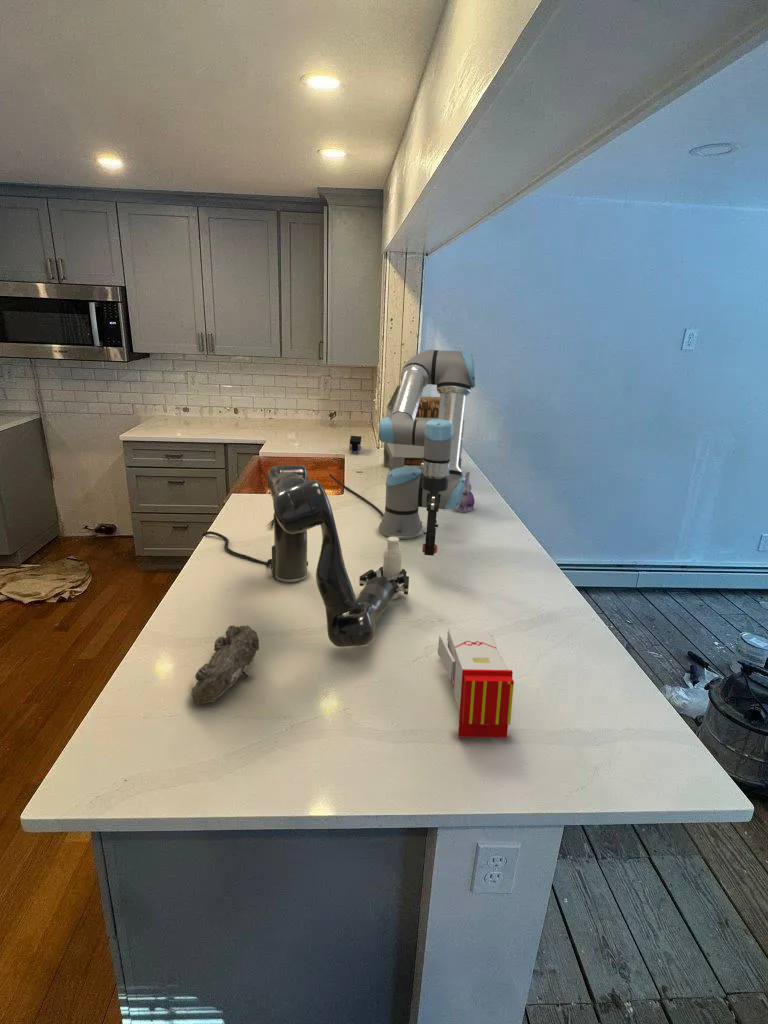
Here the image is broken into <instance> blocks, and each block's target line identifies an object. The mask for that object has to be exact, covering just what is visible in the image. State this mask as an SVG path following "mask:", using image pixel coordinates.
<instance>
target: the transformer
mask: <svg viewBox="0 0 768 1024" xmlns="http://www.w3.org/2000/svg"><path fill="white" fill-rule="evenodd" d="M400 385H401V384H398V385H397V386H396V388H395V390H394V392H393V394H392V395H391V398H390V400H389V402H388V404H387V405H386V413H385V414H386V415H385V418H388V417H390V416H391V412H392V409H393V406H394V403H395V400H396V397H397V394H398V391H399V388H400ZM439 404H440V396H421V399H420V402H419V406H418V410H417V414H416V417H415V420H422V421H429V420H433V419H438V413H439ZM464 429H465V419H464V418H463V425H462V435H461V444H460V454H459V463H458V467H459V468H460V470H461V471H462V461H463V460H462V453H463V442H464V441H463V440H462V439H463V438H464V431H465V430H464ZM423 457H424V446H415V445H401V444H391V443H384V442H383V466H384V467H388V468H389V472H390V471H391V470H393V469H396V468H400V467H405V466H406V467H417V466H418V467H422V466H421V463H423Z"/></svg>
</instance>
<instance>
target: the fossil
mask: <svg viewBox="0 0 768 1024" xmlns="http://www.w3.org/2000/svg"><path fill="white" fill-rule="evenodd" d="M213 647H214V649H213V650H214V652H213V654H212V656H211V658H210V659H209V661H208V663H205V664H203V665H202V666H201V667H200V668H198V670H197V671H196V673H195V676H194V677H195V679H196V681H197V682H196V683H195V685H194V686H193V687H192V688H191V700H192V702H193V703H197V704H198V705H203V704H207V703H214V702H215V701H216V700H218V698H219V697H221V696H222V695H223V694H224V693H226V692H227V690H228V689H229V688H231V686H233V684H235V683H236V682H237V680H238V678H239V677H240V676H241V675H243V676H244V677H245V678H249V675H248V674H247V673H246V672H245V669H246V668H247V667H248V666H250V665H251V663H253V662H254V658H255V656H256V654H257V652H259V650H260V637H259V636H258V633H257V632H256V630H254V629H252V628H251V626H249V625H247V624H246V625H240V626H236V625H234V624H233V625H229V626H228V627H227V630H226V631H225V636H220V637H219V636H218V637H217V638H216V639H215V641H214V645H213Z"/></svg>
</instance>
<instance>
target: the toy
mask: <svg viewBox="0 0 768 1024" xmlns="http://www.w3.org/2000/svg"><path fill="white" fill-rule="evenodd" d="M446 640H447V643H446V641H445V639H444V636H443V635H442V634H439V637H438V646H437V656H438V657H439V659H440V661H441V663H442V666H443V668H444V670H445V672H446V674H447V677H448V679H449V681H450V684H451V687H452V690H453V693H454V697H455V701H456V705H457V708H458V711H459V714H458V715H459V716H458V730H457V731H458V732H457V737H458V738H508V731H509V726H510V725H511V717H512V707H513V697H514V696H513V695H514V684H515V680H514V679H513V673H514V671H513V670H512V669H508V667H507V665H506V662H505V661H504V659H503V658H502V655H501V653H500V651H499V649H498V647H497V643H496V639H495V637H494V635H493V634H491V632H490V631H489V629H467V628H466V629H465V628H463V629H461V628H460V629H459V628H448V630H447V639H446Z"/></svg>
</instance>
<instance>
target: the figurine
mask: <svg viewBox="0 0 768 1024" xmlns="http://www.w3.org/2000/svg"><path fill="white" fill-rule="evenodd" d="M462 476H463V477H465V478H466V480H465V485H464V489H463V494H462V498H461V502H460V505H459V507H458V508H457V509H456V510H455V511H457V512H460V513H467V512H471V511H473V509H474V506H475V502H476V501H475V496H474V494H473V492H472V491H471V490H472V484H471V482H470V477H471V472H470V471H468V472H466V474H465V476H464V475H463V474H462Z"/></svg>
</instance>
